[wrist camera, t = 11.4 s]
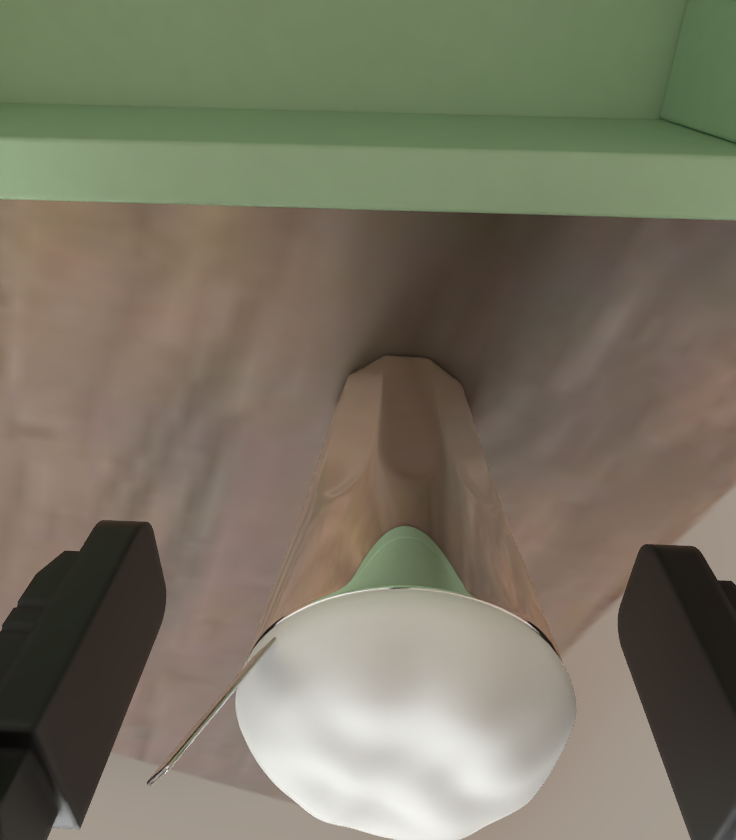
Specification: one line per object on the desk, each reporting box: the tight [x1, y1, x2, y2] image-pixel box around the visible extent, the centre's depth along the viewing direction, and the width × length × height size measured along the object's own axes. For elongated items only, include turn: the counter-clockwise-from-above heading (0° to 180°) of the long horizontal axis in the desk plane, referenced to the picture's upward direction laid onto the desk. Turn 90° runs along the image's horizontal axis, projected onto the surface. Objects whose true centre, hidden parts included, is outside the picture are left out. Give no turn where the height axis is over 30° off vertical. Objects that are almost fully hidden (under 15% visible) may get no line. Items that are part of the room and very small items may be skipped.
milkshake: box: [147, 355, 576, 840], centre depth 11 cm, size 5×5×10 cm
